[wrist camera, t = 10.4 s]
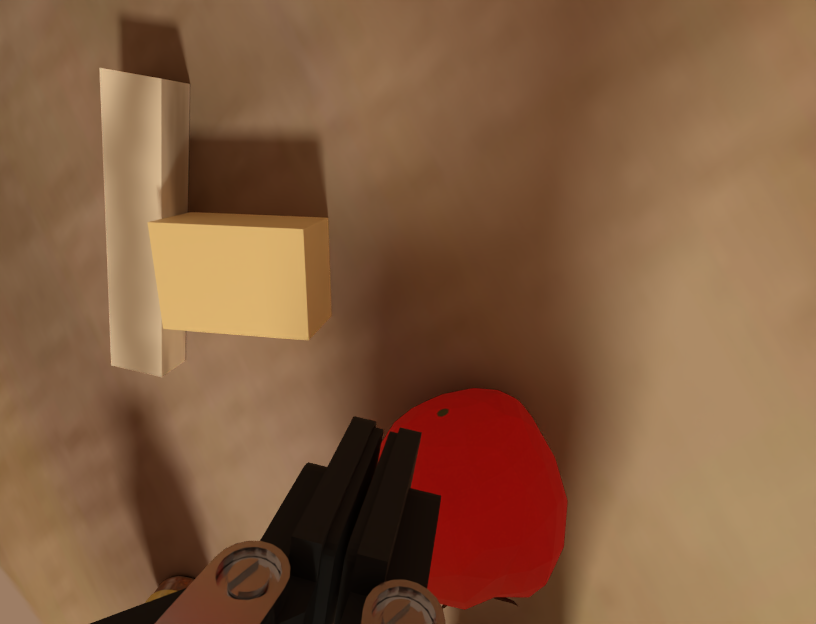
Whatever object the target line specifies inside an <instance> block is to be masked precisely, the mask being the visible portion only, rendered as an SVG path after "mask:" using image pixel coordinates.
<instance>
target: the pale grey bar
mask: <svg viewBox="0 0 816 624" xmlns="http://www.w3.org/2000/svg"><path fill="white" fill-rule="evenodd" d="M100 92H101V117H102V143H103V168H104V194H105V219H106V245H107V270H108V296H109V321H110V347H111V365H112V366H117V367H121V368H125V369H129V370H133V371H137V372H142V373H146V374H150V375H154V376H158V377H163V376H164V375H166V374H167V373H169V372H170V371H171V370H173V369H174V368H176V367H177V366H178V365H180V364H181V363H183V362H184V361H185V355H186V331H183V330H170V329H163V325H162V318H161V311H160V304H159V298H158V291H157V284H156V277H155V270H154V264H153V257H152V250H151V243H150V236H149V230H148V223H147V222H150V221H155V220H159V219H163V218H168V217H172V216H176V215H180V214H185V213H188V172H189V111H190V84H188V83H182V82H177V81H171V80H166V79H161V78H155V77H149V76H143V75H138V74H132V73H126V72H121V71H115V70H109V69H104V68H100Z"/></svg>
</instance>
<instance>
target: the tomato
mask: <svg viewBox="0 0 816 624" xmlns="http://www.w3.org/2000/svg"><path fill="white" fill-rule="evenodd" d="M400 427H401V428H405V429H409V430H414V431H418V432H422V435H421V440H420V445H419V450H418V455H417V459H416V464H415V469H414V474H413V479H412V484H411V488H413V489H417V490H421V491H425V492H429V493H433V494H437V495H441V503H440V510H439V516H438V523H437V529H436V535H435V542H434V548H433V555H432V561H431V567H430V574H429V580H428V587H427V589H428V590H429V591H430V592H431V593H432V594H433V595H434V596H435V597H436V598H437V599H438V601H439V603H440V604H443V606H442V608H445V607H446V606H451V607H456V608H460V609H464V610H465V609H468V608H470V607H472V606H475V605H477V604H480V603H482V602H484V601H487V600H489V599H492V598H495V599H498V600H502V601H506V602H510V603H513V604H515V605H517V604H516V603H515V602H514V601H512V600H510V599H508V598H506V597H530V596H531V595H533V594H534V593H535V592H537V591H538V590H539V589H541V588H542V587H543V586H545V585H546V583H547V581H548V579H549V578H550V576H551V574H552V572H553V569H554V567H555V565H556V563H557V561H558V558H559V556H560V554H561V552H562V550H563V547H564V538H565V526H566V513H567V497H566V494H565V490H564V487H563V484H562V480H561V477H560V473H559V470H558V466H557V463H556V460H555V457H554V455H553V453H552V452H551V450H550V448H549V446H548V445H547V443H546V441H545V439H544V437H543V436H542V434H541V432H540V430H539V429H538V427H537V425H536V423H535V422H534V420H533V418H532V416H531V415H530V414H529V413H528V411H527V410H526V409H525V407H524V406H523V405H522V404H521V402H519V401H518V400H517V399H515V398H514V397H512V396H510V395H508V394H505V393H503V392H501V391H499V390H492V389H480V388H471V389H466V390H461V391H456V392H451V393H446V394H442V395H439V396H437V397H435V398H432V399H430V400H428V401H426V402H424V403H422V404H420V405H418V406H416V407H414V408H412V409H411V410H409V411H408V412H407V413H405V414H404V415H403V416H402V417H400V418H399V419H398V420H397V421H395V422H394V424H393V425H392V427H391V428H390V430H389V432H390V431H391V432H396V433H398V431H399V428H400ZM389 432H388V433H387V435H386V436H385V438H384V439H383V441H382V443H381V448H380V454H379V459H380V456H381V454H382V451H383V448H384V445H385V443H386V440H387V437H388V435H389ZM378 462H379V460H378ZM517 606H518V605H517Z"/></svg>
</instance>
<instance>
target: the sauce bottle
mask: <svg viewBox="0 0 816 624" xmlns="http://www.w3.org/2000/svg"><path fill="white" fill-rule="evenodd" d="M194 580H195V579H192V578H189V577H182V576H176V577H171V578H169V579H166V580H165V581H163V582H162V583H161V584H160V586H159V587H158V588H157V590H156V591H155V592H154V594H152V595H151V596H150V597H149V598H148V600H147V601H146V602H145V603H147V602H150V601H152V600H155V599H158V598H160V597H163V596H166V595H168V594H171V593H174V592H176V591H179V590H182V589H184V588H187V587H188V586H189V585H190V584H191V583H192V582H193V581H194Z"/></svg>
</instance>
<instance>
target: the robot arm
mask: <svg viewBox="0 0 816 624" xmlns="http://www.w3.org/2000/svg"><path fill="white" fill-rule="evenodd" d="M421 435H422V432H418V431H414V430H409V429H405V428H401V427H400V428H399V431H398V433H396V432H391V431H390V432H389V435H388V437H387V440H386V443H385V445H384V448H383V451H382V454H381V456H380V459H379V454H380V448H381V442H382V437H383V429H379V428H376V421H372V420H367V419H363V418H359V417H353V419H352V421H351V423H350V425H349V427H348V429H347V430H346V432H345V434H344V436H343V438H342V440H341V442H340V444H339V446H338V448H337V450H336V452H335V454H334V455H333V457H332V459H331V461H330V463H329V465H328V467H325V466H321V465H317V464H313V463H309V462H308V463H307V464H306V465H305V466H304V468H303V469H302V471H301V473H300V474H299V476H298V478H297V479H296V481H295V483H294V484H293V486H292V488H291V489H290V491H289V493H288V495H287V496H286V498H285V500H284V501H283V503H282V505H281V506H280V508H279V510H278V511H277V513H276V515H275V516H274V518H273V520H272V522H271V523H270V525H269V527H268V528H267V530H266V532H265V533H264V535H263V537H262V538H261V540H260V541H245V542H241V543H236V544H234V545H232V546H230V547H228V548H226V549H224V550H223V551H222V552H220V553H219V554H218V555H217V556H216V557H215V558H214V559H213V560H212V561H211V562H210V563H209V564H208V565H207V566H206V567H205V569H204V570H203V571H202V572H201V573H200V574H199V575H198V576H197V577H196V579H195V580H194V581H193V582H192V583H191V584H190V585H189V586H188V587H187V588H184V589H182V590H179V591H176V592H174V593H171V594H168V595H166V596H163V597H160V598H158V599H155V600H152V601H150V602H147V603H144V604H141V605H139V606H136V607H133V608H131V609H128V610H125V611H123V612H120V613H117V614H115V615H112V616H109V617H107V618H104V619H101V620H99V621H96V622H93V623H90V624H446V623H445V617H444V612H443V608H442V606H441V605H440V603H439V601H438V599H437V598H436V597H435V596H434V595H433V594H432V593H431V592H430V591H429V590H428V589H427V587H428V580H429V574H430V567H431V561H432V555H433V548H434V542H435V535H436V529H437V523H438V516H439V510H440V503H441V495H437V494H433V493H429V492H425V491H421V490H417V489H413V488H411V484H412V479H413V474H414V469H415V464H416V459H417V455H418V450H419V445H420V440H421ZM378 460H379V462H378Z"/></svg>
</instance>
